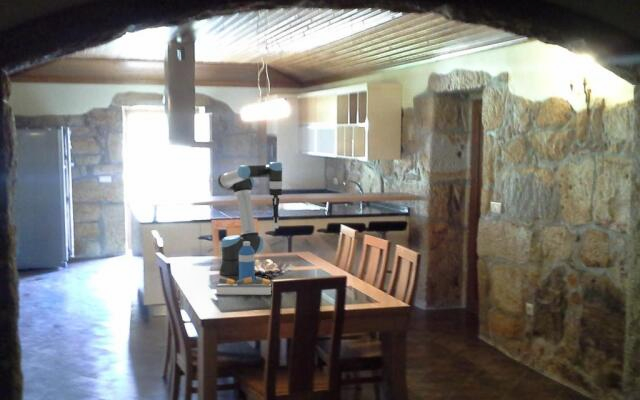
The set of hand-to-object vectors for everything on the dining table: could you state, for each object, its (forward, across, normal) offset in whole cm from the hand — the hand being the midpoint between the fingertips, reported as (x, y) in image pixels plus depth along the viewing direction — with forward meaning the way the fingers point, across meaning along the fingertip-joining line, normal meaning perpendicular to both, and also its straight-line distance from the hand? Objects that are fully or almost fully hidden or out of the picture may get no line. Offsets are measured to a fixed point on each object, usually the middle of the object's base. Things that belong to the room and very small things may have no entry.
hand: (276, 228), depth 408 cm
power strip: (+32, +26, -16) cm, 45 cm away
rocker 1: (+26, +26, -26) cm, 45 cm away
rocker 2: (+26, +26, -16) cm, 40 cm away
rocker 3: (+26, +26, -6) cm, 38 cm away
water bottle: (+33, +6, -17) cm, 37 cm away
